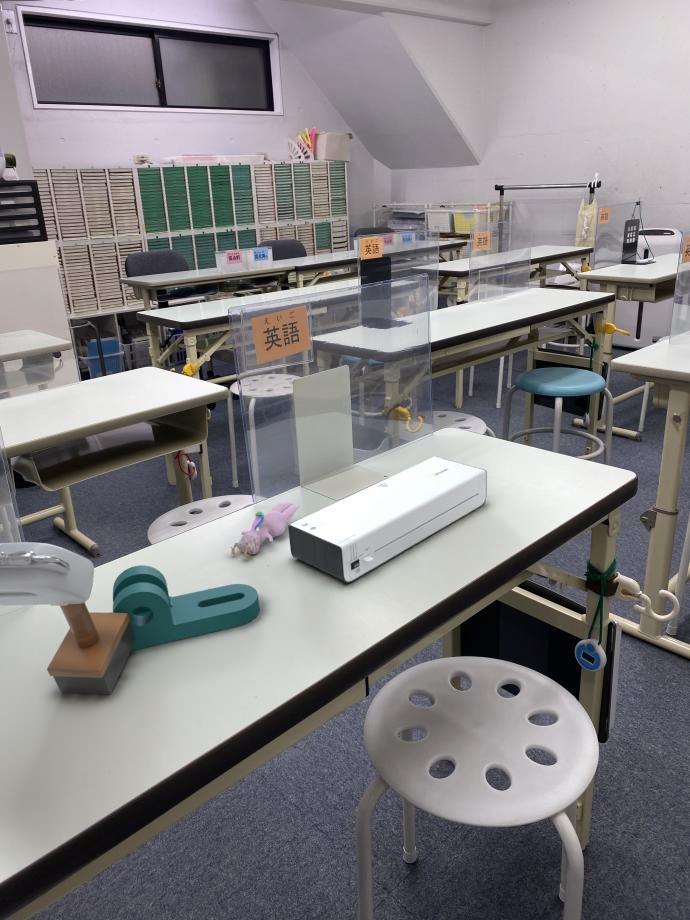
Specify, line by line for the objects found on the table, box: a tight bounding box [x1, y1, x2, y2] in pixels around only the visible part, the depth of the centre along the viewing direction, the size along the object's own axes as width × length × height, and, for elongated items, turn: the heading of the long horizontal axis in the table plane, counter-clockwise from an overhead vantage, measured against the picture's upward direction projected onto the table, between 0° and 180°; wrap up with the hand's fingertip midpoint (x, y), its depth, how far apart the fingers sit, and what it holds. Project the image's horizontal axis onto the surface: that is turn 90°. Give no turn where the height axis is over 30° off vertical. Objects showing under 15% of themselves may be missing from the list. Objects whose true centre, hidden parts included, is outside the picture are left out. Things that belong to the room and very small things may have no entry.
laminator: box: [287, 455, 488, 584], centre depth 108 cm, size 34×12×6 cm, turn 134°
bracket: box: [112, 564, 261, 652], centre depth 88 cm, size 18×7×8 cm, turn 107°
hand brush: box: [46, 602, 136, 695], centre depth 77 cm, size 8×6×14 cm
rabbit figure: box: [230, 502, 301, 562], centre depth 108 cm, size 6×6×15 cm
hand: (14, 598), depth 64 cm, fingers open, 8 cm apart
